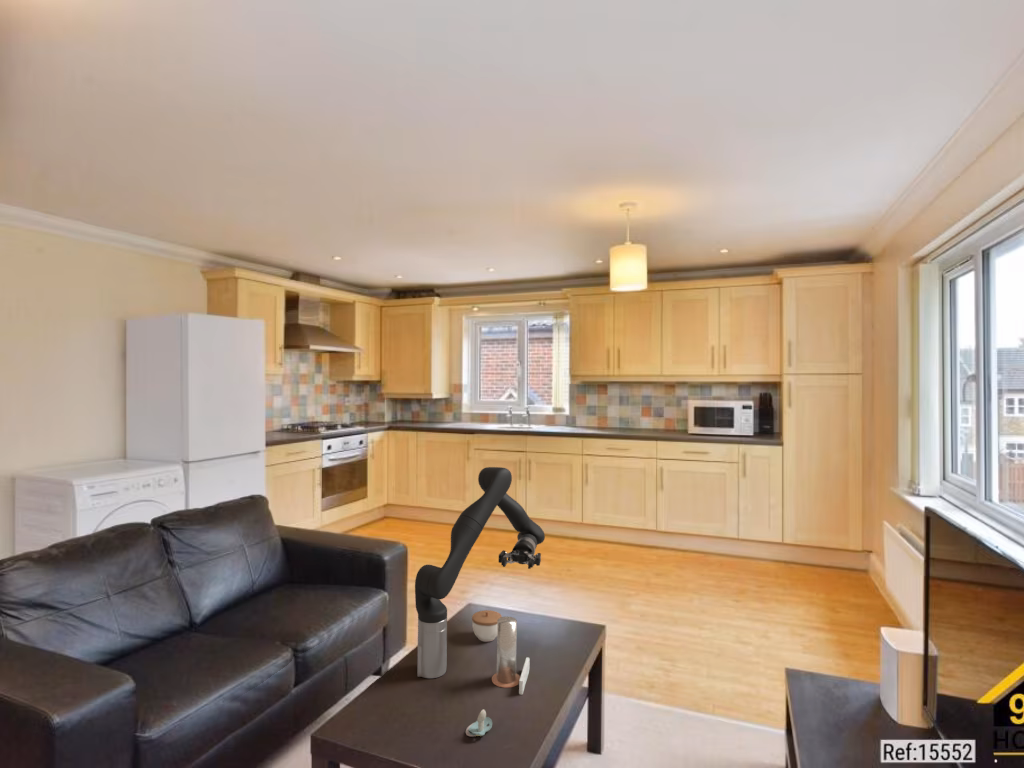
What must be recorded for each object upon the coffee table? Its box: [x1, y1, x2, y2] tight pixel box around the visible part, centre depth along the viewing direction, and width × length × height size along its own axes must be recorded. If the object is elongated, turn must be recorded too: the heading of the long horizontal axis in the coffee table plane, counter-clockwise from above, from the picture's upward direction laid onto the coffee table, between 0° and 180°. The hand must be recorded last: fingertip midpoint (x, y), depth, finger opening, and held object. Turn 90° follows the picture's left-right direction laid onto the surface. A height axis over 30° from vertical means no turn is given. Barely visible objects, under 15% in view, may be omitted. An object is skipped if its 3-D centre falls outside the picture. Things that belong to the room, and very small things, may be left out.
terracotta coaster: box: [491, 672, 521, 689], centre depth 169 cm, size 9×9×1 cm
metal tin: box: [496, 616, 518, 684], centre depth 169 cm, size 6×6×18 cm
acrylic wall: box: [518, 656, 531, 696], centre depth 168 cm, size 14×1×4 cm, turn 170°
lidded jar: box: [471, 609, 503, 643], centre depth 196 cm, size 11×11×9 cm
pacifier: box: [465, 709, 493, 738], centre depth 144 cm, size 7×6×6 cm
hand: (516, 565), depth 180 cm, fingers open, 8 cm apart
